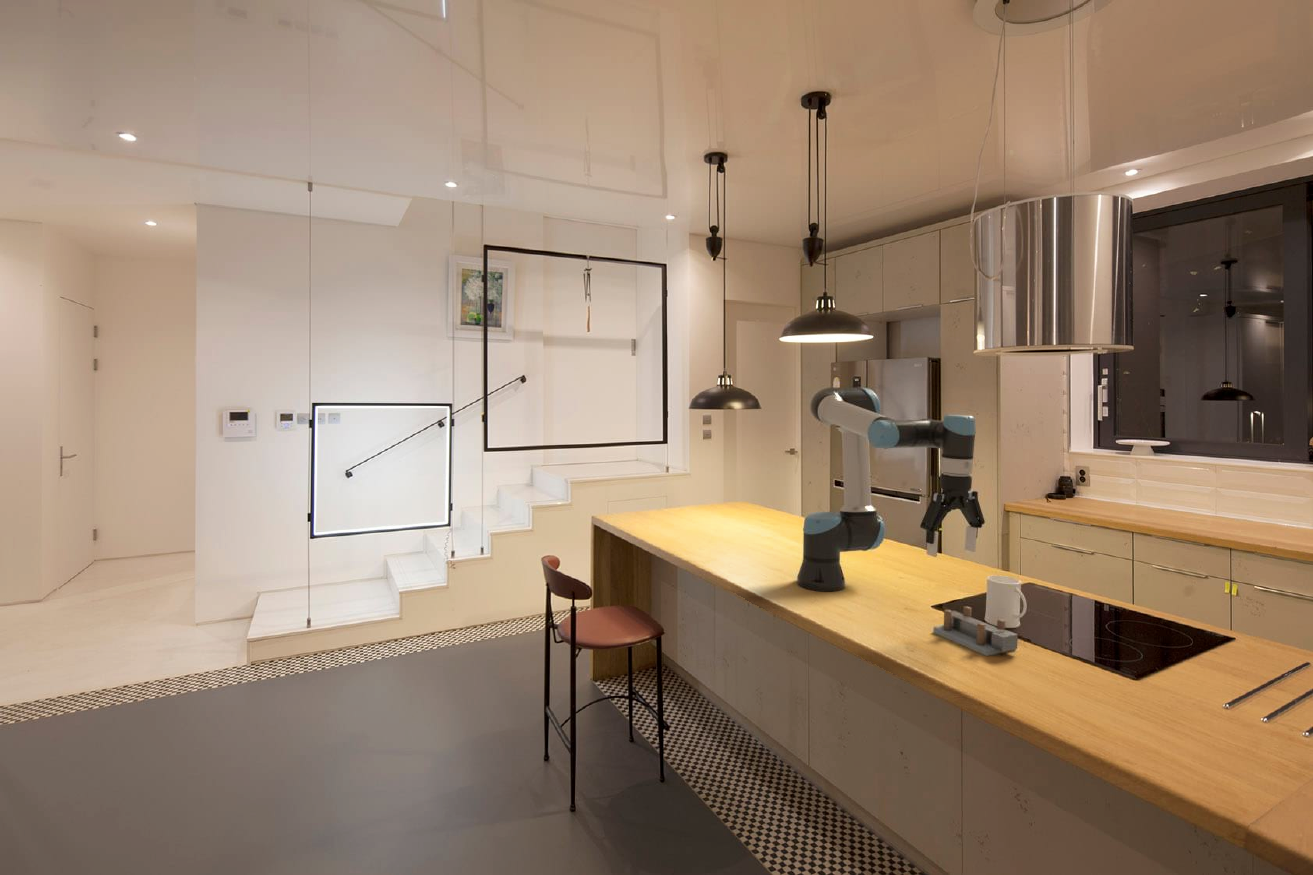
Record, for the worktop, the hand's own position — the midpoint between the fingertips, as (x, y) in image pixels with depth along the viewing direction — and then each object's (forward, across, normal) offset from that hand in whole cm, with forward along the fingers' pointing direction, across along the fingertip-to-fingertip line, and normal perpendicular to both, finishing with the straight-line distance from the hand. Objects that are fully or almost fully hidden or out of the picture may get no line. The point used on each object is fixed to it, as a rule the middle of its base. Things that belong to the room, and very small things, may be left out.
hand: (951, 553), depth 166 cm
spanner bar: (+18, -1, -10) cm, 21 cm away
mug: (+20, +16, -5) cm, 27 cm away
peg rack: (+20, -1, -10) cm, 22 cm away
